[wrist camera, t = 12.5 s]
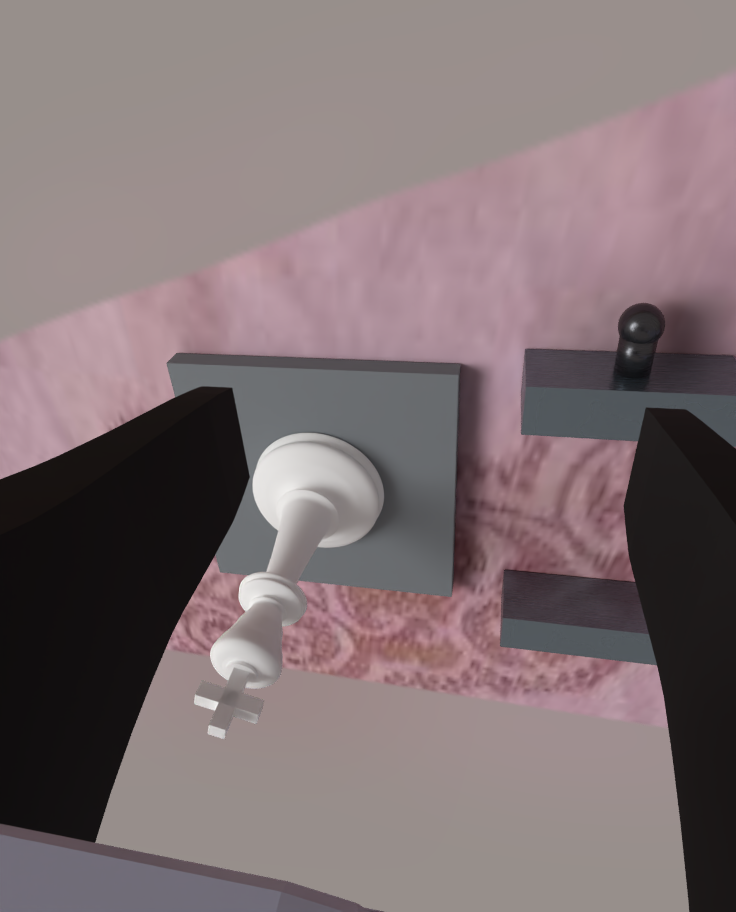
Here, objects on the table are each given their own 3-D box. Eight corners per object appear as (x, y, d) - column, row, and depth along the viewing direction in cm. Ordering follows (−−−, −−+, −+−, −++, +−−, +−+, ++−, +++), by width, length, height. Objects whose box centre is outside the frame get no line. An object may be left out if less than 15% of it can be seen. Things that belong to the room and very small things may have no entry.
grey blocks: (752, 290, 18) (782, 325, 16) (655, 614, 25) (668, 666, 23) (530, 286, 19) (532, 319, 17) (501, 598, 26) (500, 646, 24)
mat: (460, 363, 21) (458, 375, 20) (453, 582, 26) (451, 596, 26) (176, 353, 22) (166, 363, 22) (226, 559, 28) (220, 572, 27)
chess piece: (367, 552, 25) (295, 806, 17) (249, 515, 25) (122, 751, 17) (399, 456, 22) (331, 708, 14) (265, 414, 22) (121, 641, 14)
